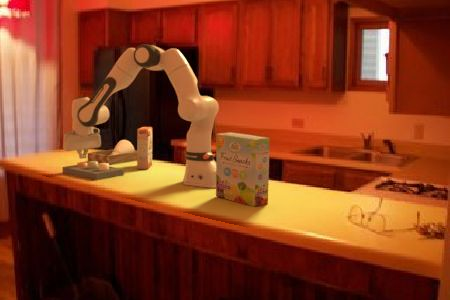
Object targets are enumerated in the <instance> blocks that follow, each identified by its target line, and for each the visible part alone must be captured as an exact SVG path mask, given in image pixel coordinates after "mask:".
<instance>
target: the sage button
mask: <svg viewBox="0 0 450 300" xmlns="http://www.w3.org/2000/svg"><path fill="white" fill-rule="evenodd" d="M87 164H88V169H98V161H89V162H88V161H87Z"/></svg>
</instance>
